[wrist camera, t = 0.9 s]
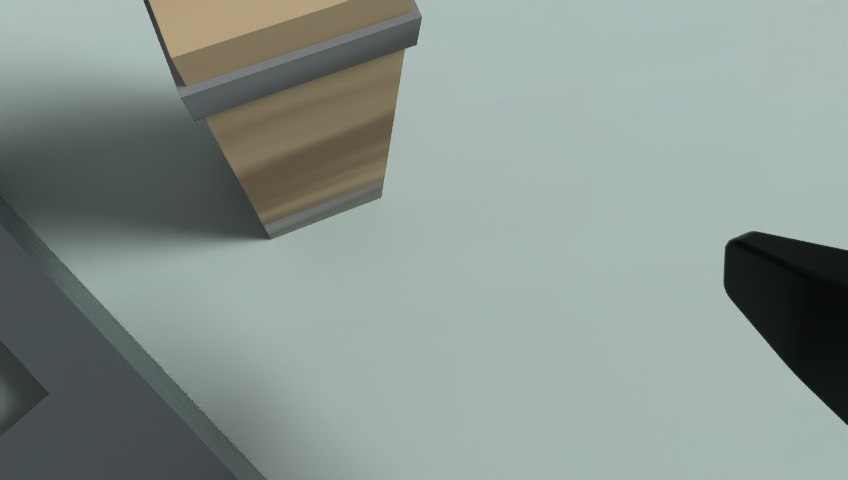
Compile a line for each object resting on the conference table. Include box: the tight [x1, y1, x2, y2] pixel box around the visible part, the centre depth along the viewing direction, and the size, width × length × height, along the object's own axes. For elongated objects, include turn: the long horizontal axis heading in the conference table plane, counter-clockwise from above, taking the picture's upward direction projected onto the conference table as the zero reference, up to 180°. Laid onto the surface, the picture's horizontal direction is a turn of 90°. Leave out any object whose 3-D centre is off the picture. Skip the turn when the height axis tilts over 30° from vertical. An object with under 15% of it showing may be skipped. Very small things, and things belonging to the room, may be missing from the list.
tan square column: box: [144, 0, 422, 239], centre depth 17 cm, size 4×4×13 cm
